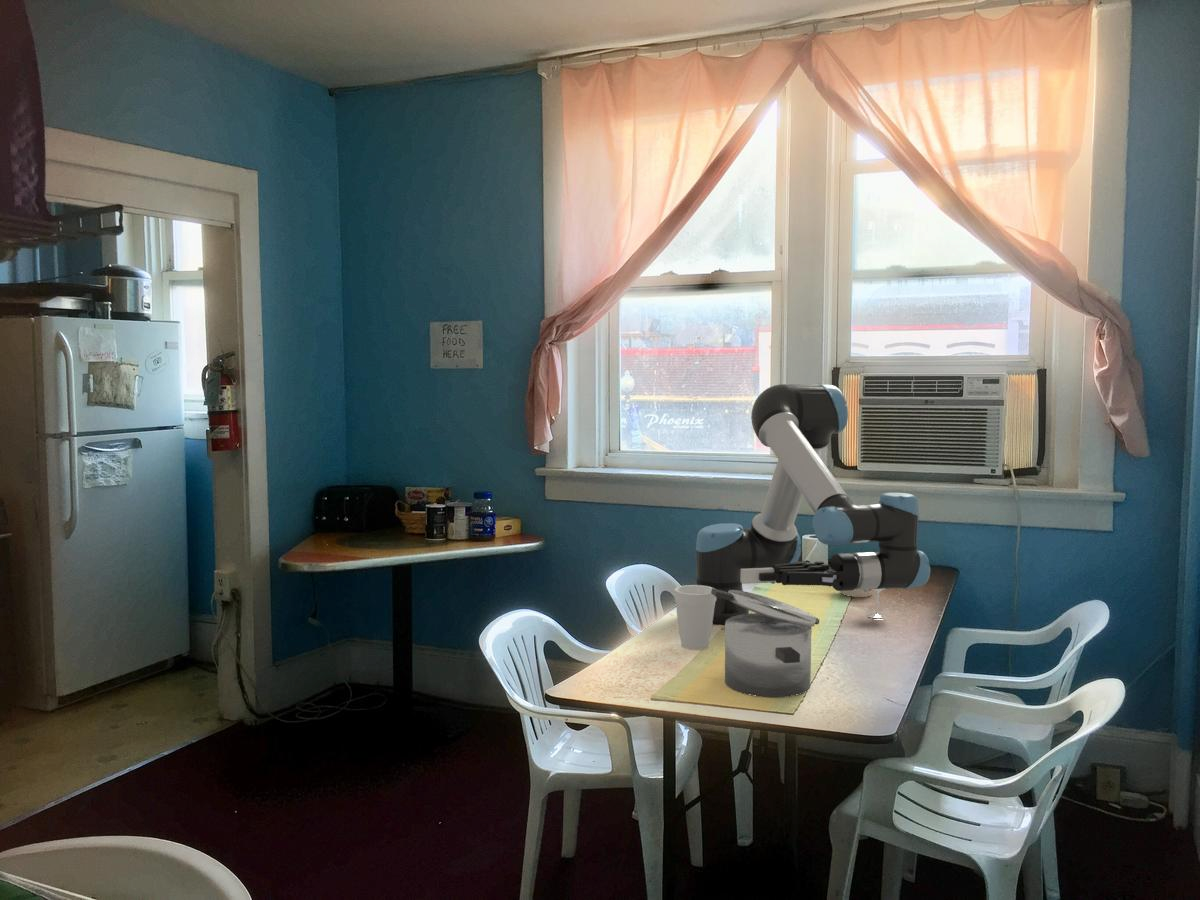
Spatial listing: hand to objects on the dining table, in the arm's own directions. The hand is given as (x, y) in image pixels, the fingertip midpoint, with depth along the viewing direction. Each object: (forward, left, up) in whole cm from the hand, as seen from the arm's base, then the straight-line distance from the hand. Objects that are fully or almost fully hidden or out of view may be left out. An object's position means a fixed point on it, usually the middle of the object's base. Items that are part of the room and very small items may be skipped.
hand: (741, 576), depth 184 cm
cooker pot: (+4, +4, -22) cm, 23 cm away
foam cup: (-19, +20, -22) cm, 35 cm away
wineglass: (+11, +66, -22) cm, 70 cm away
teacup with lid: (0, +89, -22) cm, 91 cm away
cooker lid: (+4, +3, -7) cm, 8 cm away
